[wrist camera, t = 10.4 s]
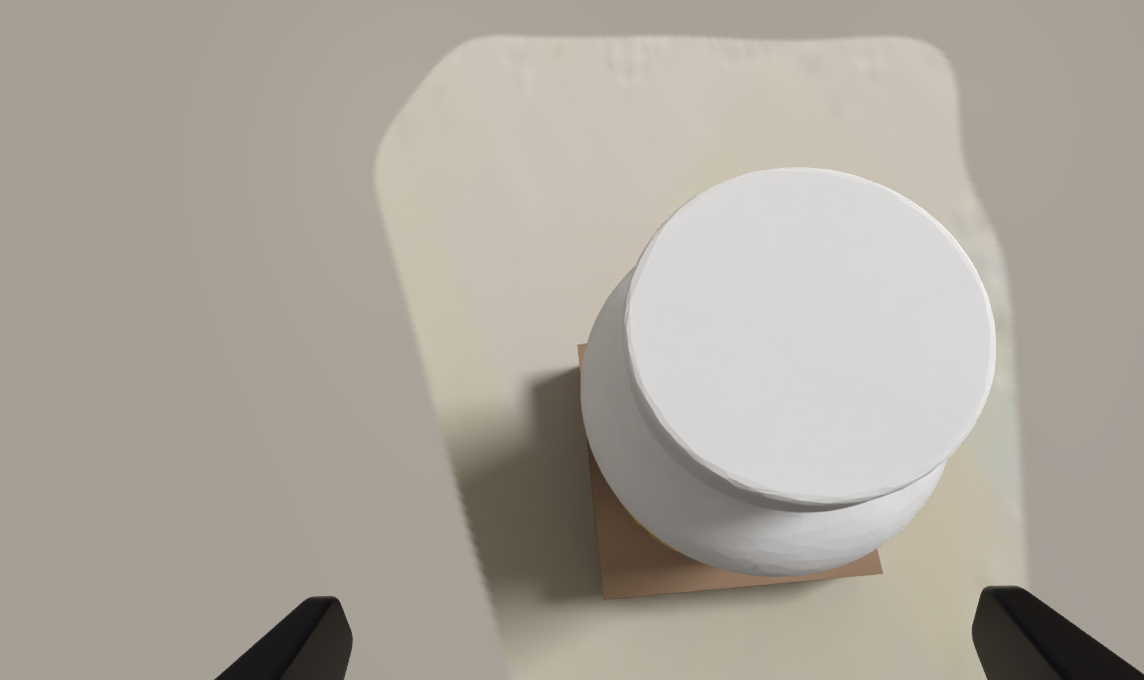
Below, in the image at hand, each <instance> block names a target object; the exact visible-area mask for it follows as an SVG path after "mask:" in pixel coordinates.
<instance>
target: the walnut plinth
mask: <svg viewBox="0 0 1144 680" xmlns="http://www.w3.org/2000/svg"><path fill="white" fill-rule="evenodd" d="M577 346H578V355H579V365H580V375H581V371H582V364H583V358H584V353H585V350H586V346H587V344H579V345H577ZM587 443H588V452H589V462H590V472H591V481H592V491H593V501H594V510H595V520H596V530H597V539H598V549H599V559H600V569H601V578H602V588H603V598H604V600H605V599H616V598H627V597H637V596H648V595H659V594H670V593H681V592H691V591H702V590H713V589H724V588H734V587H745V586H756V585H767V584H777V583H788V582H799V581H810V580H820V579H831V578H842V577H853V576H864V575H874V574H883V572H882V568H881V564H880V559H879V555H878V551H877V549H875V550H874V551H872V552H870V553H869V554H867V555H865V556H864V557H861V558H859V559H857V560H855V561H852V562H850V563H848V564H845V565H843V566H841V567H838V568H834V569H831V570H827V571H823V572H819V573H814V574H809V575H803V576H789V577H763V576H753V575H746V574H740V573H735V572H729V571H726V570H722V569H719V568H716V567H712V566H709V565H707V564H704V563H701V562H699V561H696V560H694V559H692V558H690V557H688V556H685V555H682V554H680V553H678V552H676V551H674V550H672V549H670V548H668V547H666V546H665V545H663V544H661V543H660V542H658V541H657V540H656V539H654V538H653V537H652V536H650V535H649V534H648V533H647V532H646V531H645V530H643V529H642V528H641V527H640V526H639V525H638V524H637V522H636V521H635V520H634V519H633V518H632V516H631V515H630V514H629V513H628V512H627V511H626V509H625V508H624V506H623V504H622V503H621V502H620V500H619V499H618V497H617V496H616V495H615V493H614V492H613V490H612V489H611V487H610V486H609V484H608V483H607V481H606V479H605V478H604V476H603V474H602V472H601V470H600V468H599V466H598V464H597V462H596V460H595V457H594V455H593V453H592V450H591V448H590V444H589V441H588V438H587Z"/></svg>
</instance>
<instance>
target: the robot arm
mask: <svg viewBox="0 0 1144 680" xmlns="http://www.w3.org/2000/svg"><path fill="white" fill-rule="evenodd" d="M972 638H973V643H974V646H975V649H976V652H977V654H978V657H979V659H980V662H981V664H982V667H983V669H984V672H985V675H986V677H987V680H1144V674H1143V673H1141V672H1140V671H1138V670H1137V669H1136V668H1134V667H1133V666H1132V665H1130V664H1129V663H1127V662H1126V661H1125V660H1123V659H1122V658H1120V657H1119V656H1117V655H1116V654H1115V653H1113V652H1112V651H1110V650H1109V649H1108V648H1106V647H1105V646H1104V645H1102V644H1100V643H1099V642H1098V641H1097V640H1095V639H1094V638H1092V637H1091V636H1090V635H1088V634H1087V633H1085V632H1084V631H1082V630H1081V629H1080V628H1078V627H1077V626H1076V625H1074V624H1073V623H1071V622H1070V621H1069V620H1067V619H1066V618H1064V617H1063V616H1062V615H1060V614H1059V613H1057V612H1056V611H1054V610H1053V609H1052V608H1050V607H1049V606H1048V605H1046V604H1045V603H1043V602H1042V601H1041V600H1039V599H1038V598H1036V597H1035V596H1034V595H1032V594H1031V593H1029V592H1028V591H1026V590H1025V589H1023V588H1021V587H1018V586H988V587H985V588H984V589H983V590H982V592H981V595H980V599H979V602H978V606H977V610H976V614H975V617H974V621H973V625H972ZM352 640H353V639H352V632H351V629H350V627H349V624H348V622H347V619H346V616H345V614H344V611H343V608H342V606H341V603H340V601H339V600H338V599H337V598H336V597H333V596H321V597H320V596H319V597H318V596H317V597H310V598H308V599H306V600H305V601H303V602H302V603H301V604H300V605H299V606H298V607H296V608H295V609H294V610H293V611H292V612H291V613H290V614H289V615H287V616H286V617H285V618H284V619H283V620H282V621H280V622H279V623H278V624H277V625H276V626H275V627H274V628H273V629H271V630H270V631H269V632H268V633H267V634H266V635H265V636H263V637H262V638H261V639H260V640H259V641H258V642H257V643H255V644H254V645H253V646H252V647H251V648H250V649H249V650H248V651H246V652H245V653H244V654H243V655H242V656H241V657H240V658H238V659H237V660H236V661H235V662H234V663H233V664H232V665H230V666H229V667H228V668H227V669H226V670H225V671H224V672H222V673H221V674H220V675H219V676H218V677H217V678H216V679H215V680H344V677H345V673H346V670H347V666H348V662H349V658H350V654H351V650H352V642H353V641H352Z"/></svg>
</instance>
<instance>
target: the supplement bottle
mask: <svg viewBox="0 0 1144 680" xmlns="http://www.w3.org/2000/svg"><path fill="white" fill-rule="evenodd" d="M995 358H996V338H995V324H994V320H993V315H992V311H991V307H990V303H989V299H988V295H987V293H986V291H985V288H984V286H983V284H982V282H981V279H980V277H979V274H978V272H977V270H976V269H975V267H974V265H973V264H972V262H971V260H970V259H969V257H968V256H967V254H966V253H965V252H964V250H963V249H962V248H961V246H960V245H959V244H958V242H957V241H956V240H955V239H954V238H953V236H952V235H951V234H950V233H949V232H948V231H947V230H946V229H945V228H944V227H943V226H942V225H941V224H940V223H939V222H938V221H937V220H935V219H934V218H933V217H932V216H931V215H930V214H928V213H927V212H926V211H925V210H924V209H922V208H921V207H919V206H918V205H916V204H915V203H914V202H912V201H911V200H909V199H907V198H905V197H904V196H902V195H900V194H898V193H897V192H895V191H893V190H891V189H889V188H887V187H884V186H882V185H880V184H877V183H875V182H872V181H869V180H866V179H864V178H861V177H858V176H855V175H852V174H848V173H843V172H839V171H835V170H828V169H818V168H806V167H792V168H776V169H768V170H762V171H757V172H751V173H746V174H743V175H740V176H737V177H735V178H732V179H729V180H727V181H724V182H721V183H719V184H717V185H715V186H713V187H711V188H710V189H708V190H706V191H704V192H702V193H700V194H698V195H696V196H695V197H693V198H692V199H690V200H689V201H688V202H686V203H685V204H684V205H682V206H681V207H680V208H678V209H677V210H676V211H675V212H674V213H673V214H672V215H671V216H670V217H669V218H668V219H667V220H666V221H665V222H664V223H663V224H662V226H661V227H660V228H659V229H658V230H657V231H656V233H655V234H654V235H653V237H652V238H651V240H650V241H649V243H648V244H647V246H646V247H645V249H644V251H643V252H642V254H641V256H640V257H639V259H638V262H637V264H636V266H635V267H634V268H633V269H632V270H631V271H630V272H629V273H628V274H627V275H626V276H625V277H624V278H623V279H622V281H621V282H620V283H619V284H618V285H617V287H616V288H615V289H614V290H613V291H612V293H611V294H610V296H609V297H608V299H607V300H606V302H605V304H604V305H603V307H602V309H601V311H600V312H599V314H598V316H597V318H596V321H595V323H594V325H593V328H592V330H591V333H590V336H589V339H588V342H587V346H586V350H585V353H584V358H583V364H582V371H581V390H580V396H581V410H582V415H583V421H584V426H585V430H586V434H587V438H588V441H589V444H590V448H591V450H592V453H593V455H594V457H595V460H596V462H597V464H598V466H599V468H600V470H601V472H602V474H603V476H604V478H605V479H606V481H607V483H608V484H609V486H610V487H611V489H612V490H613V492H614V493H615V495H616V496H617V497H618V499H619V500H620V502H621V503H622V504H623V506H624V508H625V509H626V511H627V512H628V513H629V514H630V515H631V516H632V518H633V519H634V520H635V521H636V522H637V524H638V525H639V526H640V527H641V528H642V529H643V530H645V531H646V532H647V533H648V534H649V535H650V536H652V537H653V538H654V539H656V540H657V541H658V542H660V543H661V544H663V545H665V546H666V547H668V548H670V549H672V550H674V551H676V552H678V553H680V554H682V555H685V556H688V557H690V558H692V559H694V560H696V561H699V562H701V563H704V564H707V565H709V566H712V567H716V568H719V569H722V570H726V571H729V572H735V573H740V574H746V575H753V576H763V577H789V576H803V575H809V574H814V573H819V572H823V571H827V570H831V569H834V568H838V567H841V566H843V565H845V564H848V563H850V562H852V561H855V560H857V559H859V558H861V557H864V556H865V555H867V554H869V553H870V552H872V551H874V550H875V549H877V548H878V547H880V546H881V545H883V544H884V543H886V542H887V541H889V540H890V539H892V538H893V537H894V536H895V535H896V534H898V533H899V532H900V531H901V530H902V529H903V528H904V527H905V526H906V525H907V524H908V523H909V522H910V521H911V520H912V518H913V517H914V516H915V515H916V514H917V513H918V511H919V510H920V509H921V508H922V506H923V505H924V504H925V503H926V501H927V500H928V498H929V497H930V495H931V493H932V492H933V490H934V489H935V487H936V485H937V483H938V481H939V479H940V477H941V475H942V472H943V470H944V467H945V464H946V462H947V459H948V458H949V457H950V456H951V455H952V454H953V453H954V452H955V451H956V450H957V449H958V447H959V446H960V445H961V444H962V443H963V441H964V440H965V439H966V437H967V436H968V434H969V433H970V431H971V430H972V428H973V426H974V425H975V423H976V422H977V420H978V418H979V416H980V414H981V411H982V409H983V407H984V405H985V403H986V400H987V398H988V395H989V392H990V388H991V384H992V381H993V377H994V370H995Z"/></svg>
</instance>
